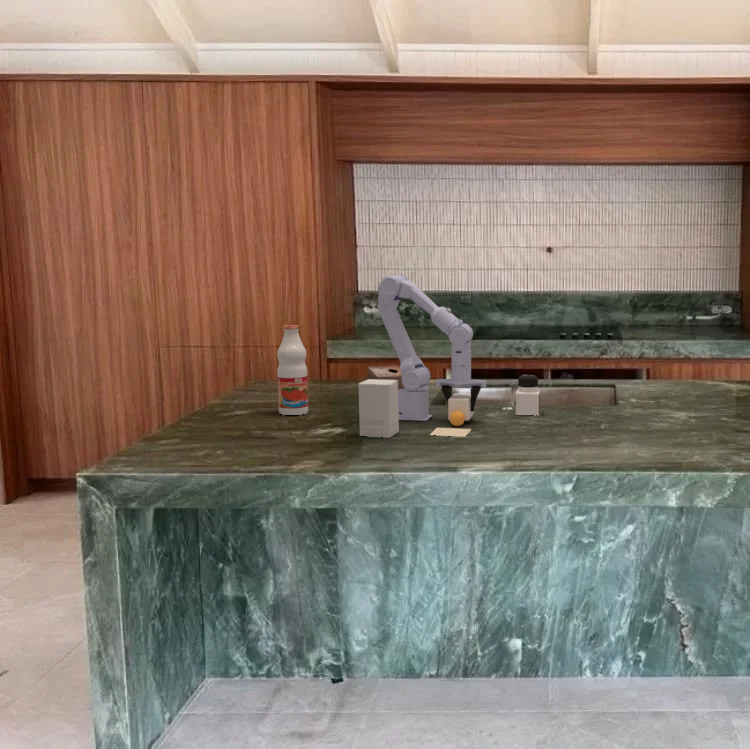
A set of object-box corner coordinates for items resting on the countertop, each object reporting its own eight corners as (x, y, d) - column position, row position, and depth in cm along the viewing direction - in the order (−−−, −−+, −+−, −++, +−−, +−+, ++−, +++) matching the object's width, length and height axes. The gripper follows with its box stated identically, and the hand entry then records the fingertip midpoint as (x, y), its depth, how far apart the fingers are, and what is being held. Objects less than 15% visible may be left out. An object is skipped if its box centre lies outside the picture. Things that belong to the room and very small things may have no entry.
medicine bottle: (539, 416, 259) (539, 377, 257) (515, 415, 260) (515, 377, 259) (539, 412, 266) (540, 374, 264) (516, 411, 267) (516, 373, 266)
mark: (429, 435, 234) (429, 434, 234) (436, 428, 244) (436, 427, 244) (465, 437, 231) (465, 436, 231) (471, 429, 241) (471, 429, 241)
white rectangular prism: (468, 420, 248) (468, 400, 247) (448, 419, 249) (448, 399, 248) (473, 413, 257) (473, 394, 256) (454, 412, 258) (454, 393, 257)
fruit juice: (303, 409, 276) (300, 323, 272) (312, 414, 267) (310, 325, 263) (275, 412, 272) (272, 325, 268) (283, 417, 263) (280, 327, 259)
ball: (450, 427, 248) (447, 423, 244) (451, 412, 249) (449, 408, 245) (464, 428, 247) (463, 424, 243) (466, 413, 248) (464, 409, 244)
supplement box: (399, 432, 240) (399, 379, 238) (389, 438, 231) (389, 384, 229) (369, 430, 243) (368, 378, 241) (358, 436, 234) (357, 383, 232)
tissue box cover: (367, 394, 306) (367, 366, 305) (407, 392, 308) (407, 365, 307) (377, 406, 281) (377, 376, 279) (420, 405, 283) (420, 375, 281)
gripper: (434, 366, 249) (434, 412, 251) (483, 367, 245) (483, 414, 247) (439, 363, 256) (439, 408, 258) (487, 364, 252) (487, 409, 254)
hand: (461, 410), depth 253 cm, fingers closed on white rectangular prism, 6 cm apart
